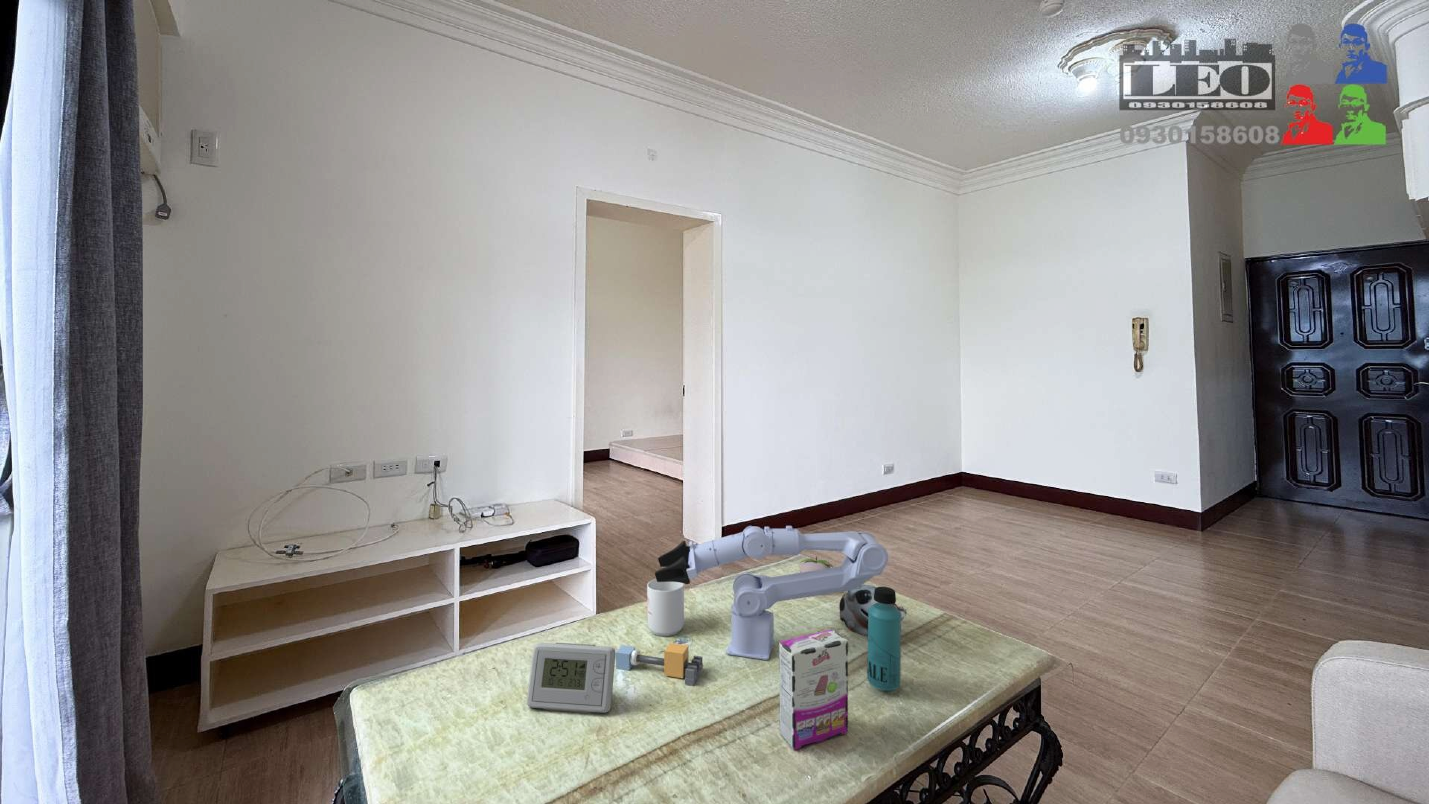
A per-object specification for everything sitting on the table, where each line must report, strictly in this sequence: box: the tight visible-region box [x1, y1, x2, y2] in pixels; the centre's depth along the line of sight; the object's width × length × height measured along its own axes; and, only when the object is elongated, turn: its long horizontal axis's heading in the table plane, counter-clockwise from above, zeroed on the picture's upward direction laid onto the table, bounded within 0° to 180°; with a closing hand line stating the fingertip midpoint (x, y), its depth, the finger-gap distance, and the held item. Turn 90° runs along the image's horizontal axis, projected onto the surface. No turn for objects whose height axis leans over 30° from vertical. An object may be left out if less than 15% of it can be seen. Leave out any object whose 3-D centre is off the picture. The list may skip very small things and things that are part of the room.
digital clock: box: [526, 642, 616, 714], centre depth 100 cm, size 16×9×11 cm, turn 72°
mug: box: [646, 578, 685, 637], centre depth 131 cm, size 12×9×11 cm
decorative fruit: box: [799, 556, 834, 573], centre depth 152 cm, size 9×8×10 cm
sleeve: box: [663, 642, 689, 679], centre depth 110 cm, size 4×4×5 cm
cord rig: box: [615, 644, 704, 686], centre depth 111 cm, size 18×6×3 cm, turn 74°
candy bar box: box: [778, 628, 849, 751], centre depth 91 cm, size 11×5×16 cm, turn 114°
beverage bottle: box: [866, 586, 902, 691], centre depth 104 cm, size 6×7×20 cm
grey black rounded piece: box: [838, 584, 908, 636], centre depth 129 cm, size 15×12×14 cm
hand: (657, 569), depth 120 cm, fingers open, 7 cm apart
